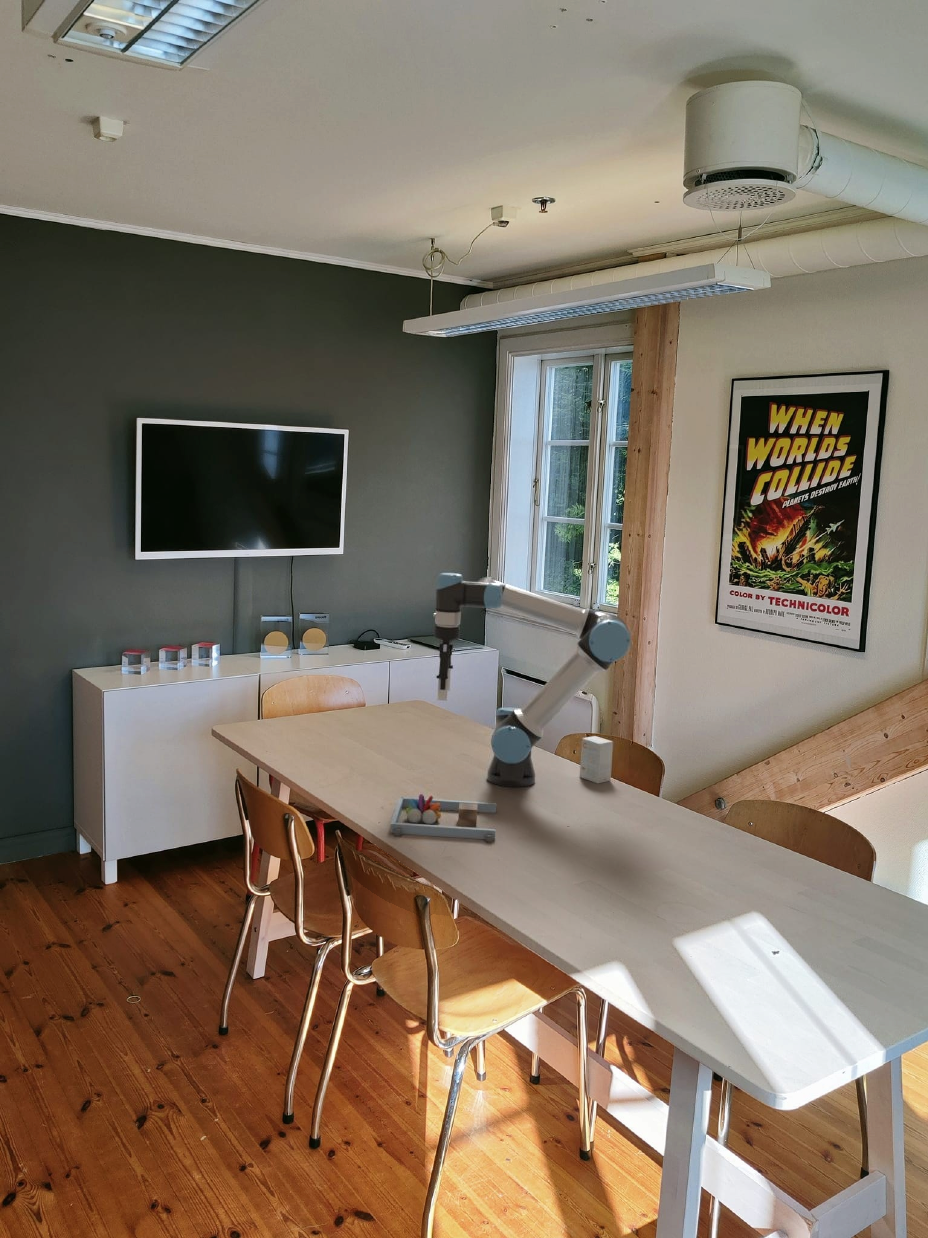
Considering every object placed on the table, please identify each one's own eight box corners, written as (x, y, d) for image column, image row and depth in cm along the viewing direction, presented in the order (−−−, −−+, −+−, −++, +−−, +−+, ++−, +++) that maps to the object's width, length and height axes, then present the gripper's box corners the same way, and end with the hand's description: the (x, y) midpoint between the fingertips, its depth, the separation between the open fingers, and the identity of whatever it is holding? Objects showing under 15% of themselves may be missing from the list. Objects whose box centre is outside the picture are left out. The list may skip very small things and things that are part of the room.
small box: (610, 780, 323) (613, 741, 321) (597, 784, 319) (600, 744, 317) (592, 774, 329) (595, 735, 327) (578, 777, 325) (581, 737, 323)
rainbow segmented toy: (438, 827, 274) (439, 801, 272) (403, 824, 275) (404, 798, 273) (442, 816, 282) (443, 791, 281) (408, 813, 283) (409, 788, 282)
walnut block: (476, 821, 280) (477, 804, 279) (476, 827, 275) (477, 810, 274) (458, 820, 280) (459, 803, 279) (457, 826, 275) (458, 809, 274)
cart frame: (496, 809, 290) (496, 800, 290) (494, 843, 264) (495, 833, 263) (399, 802, 291) (400, 794, 291) (388, 836, 265) (389, 826, 264)
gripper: (437, 618, 312) (434, 685, 315) (431, 631, 288) (428, 703, 291) (461, 619, 312) (458, 687, 315) (457, 632, 287) (453, 705, 291)
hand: (443, 695), depth 303 cm, fingers open, 13 cm apart
